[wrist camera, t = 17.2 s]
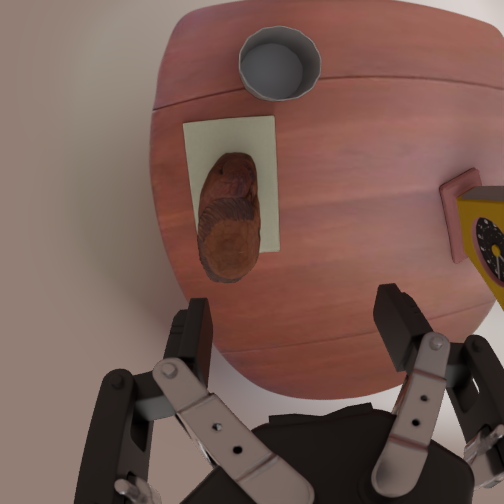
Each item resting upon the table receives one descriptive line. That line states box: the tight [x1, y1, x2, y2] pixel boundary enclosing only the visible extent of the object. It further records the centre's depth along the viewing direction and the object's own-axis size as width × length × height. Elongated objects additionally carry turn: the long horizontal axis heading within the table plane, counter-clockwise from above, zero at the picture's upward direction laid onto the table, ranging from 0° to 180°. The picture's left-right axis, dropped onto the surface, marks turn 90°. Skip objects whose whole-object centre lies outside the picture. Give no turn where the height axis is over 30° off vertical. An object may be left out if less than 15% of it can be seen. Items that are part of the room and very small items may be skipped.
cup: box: [239, 25, 321, 102], centre depth 30 cm, size 8×8×10 cm
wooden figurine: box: [197, 152, 261, 283], centre depth 33 cm, size 12×6×18 cm, turn 1°
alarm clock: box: [440, 168, 504, 311], centre depth 35 cm, size 22×9×22 cm, turn 30°
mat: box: [183, 115, 280, 253], centre depth 42 cm, size 20×12×1 cm, turn 4°
